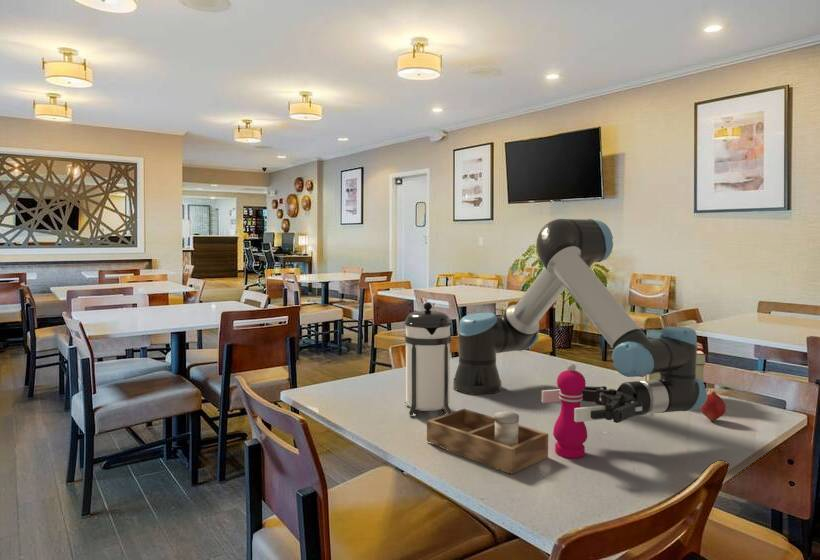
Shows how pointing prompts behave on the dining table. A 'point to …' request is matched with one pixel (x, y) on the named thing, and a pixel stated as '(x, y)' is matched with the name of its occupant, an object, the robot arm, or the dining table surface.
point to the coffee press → (427, 360)
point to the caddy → (489, 439)
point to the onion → (713, 406)
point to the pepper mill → (570, 415)
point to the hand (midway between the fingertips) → (557, 405)
